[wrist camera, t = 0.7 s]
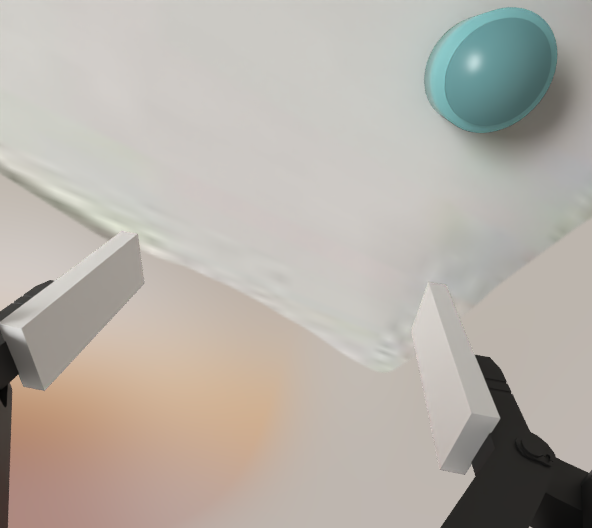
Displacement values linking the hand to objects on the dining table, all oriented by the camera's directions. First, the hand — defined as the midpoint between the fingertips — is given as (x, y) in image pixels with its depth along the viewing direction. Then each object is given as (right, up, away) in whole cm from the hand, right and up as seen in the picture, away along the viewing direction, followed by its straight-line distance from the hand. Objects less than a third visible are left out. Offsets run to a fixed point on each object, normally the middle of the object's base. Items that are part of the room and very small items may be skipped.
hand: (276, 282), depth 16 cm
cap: (+16, +17, +14) cm, 27 cm away
